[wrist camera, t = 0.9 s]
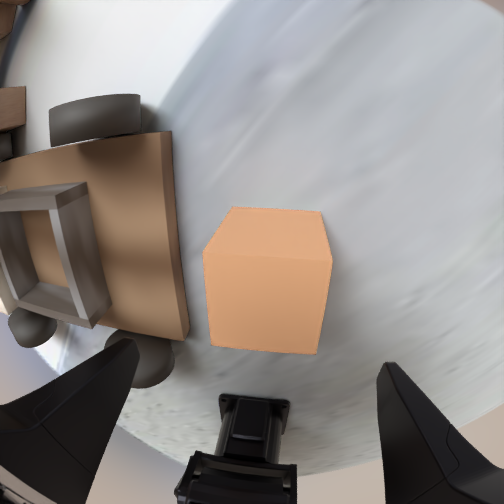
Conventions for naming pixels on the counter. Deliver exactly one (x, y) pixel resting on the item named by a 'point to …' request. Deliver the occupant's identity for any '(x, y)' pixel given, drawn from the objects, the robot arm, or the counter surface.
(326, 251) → the orange block
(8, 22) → the wooden toy
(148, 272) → the chassis
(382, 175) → the counter surface
